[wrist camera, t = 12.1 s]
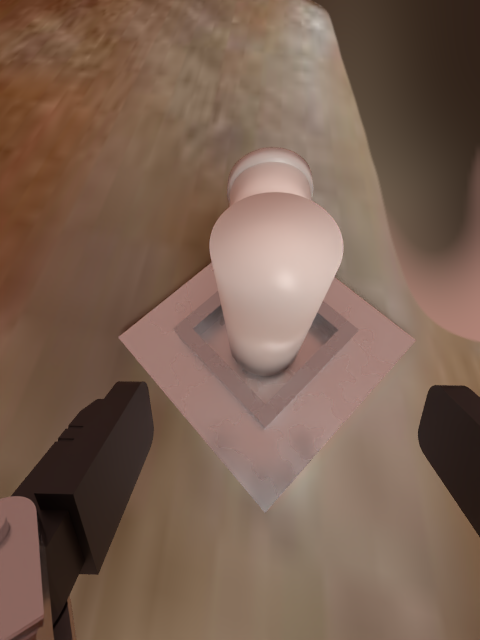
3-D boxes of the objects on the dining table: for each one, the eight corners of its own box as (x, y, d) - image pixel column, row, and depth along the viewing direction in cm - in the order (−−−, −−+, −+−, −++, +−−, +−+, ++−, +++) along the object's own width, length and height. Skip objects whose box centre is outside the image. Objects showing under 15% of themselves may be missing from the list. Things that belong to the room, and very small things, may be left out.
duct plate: (122, 340, 24) (106, 327, 21) (262, 227, 28) (263, 205, 25) (264, 510, 19) (266, 520, 17) (410, 343, 23) (430, 330, 21)
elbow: (300, 376, 22) (351, 302, 11) (228, 375, 22) (204, 301, 11) (295, 272, 25) (328, 133, 14) (233, 271, 25) (218, 135, 14)
